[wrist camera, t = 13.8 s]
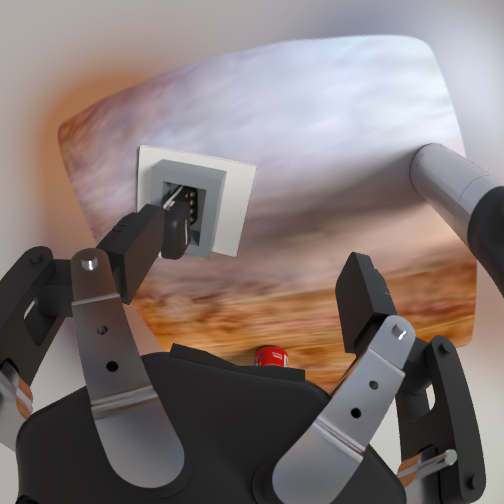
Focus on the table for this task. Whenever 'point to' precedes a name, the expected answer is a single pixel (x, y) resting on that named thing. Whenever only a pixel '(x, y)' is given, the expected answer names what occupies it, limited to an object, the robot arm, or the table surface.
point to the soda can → (271, 357)
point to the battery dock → (200, 194)
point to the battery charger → (178, 221)
